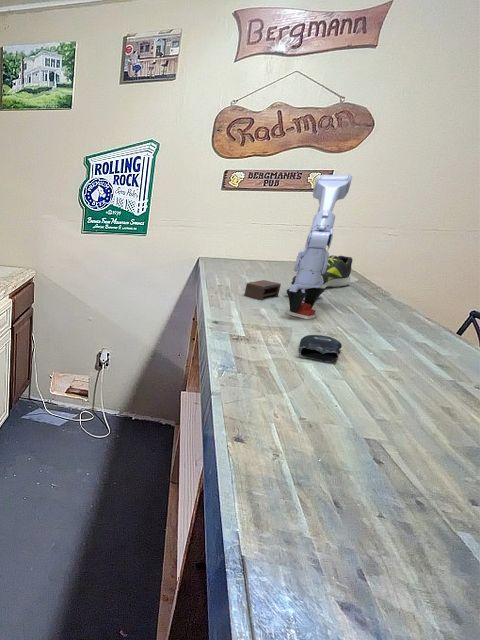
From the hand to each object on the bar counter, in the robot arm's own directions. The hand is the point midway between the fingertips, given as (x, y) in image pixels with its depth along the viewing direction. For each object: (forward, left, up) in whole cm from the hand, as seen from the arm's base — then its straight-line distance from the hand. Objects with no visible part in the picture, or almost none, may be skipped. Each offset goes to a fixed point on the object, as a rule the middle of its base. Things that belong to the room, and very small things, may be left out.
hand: (300, 310), depth 152 cm
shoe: (0, 0, -2) cm, 2 cm away
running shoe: (-45, -20, -2) cm, 49 cm away
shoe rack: (-11, -22, -2) cm, 24 cm away
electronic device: (+27, +22, -2) cm, 35 cm away
